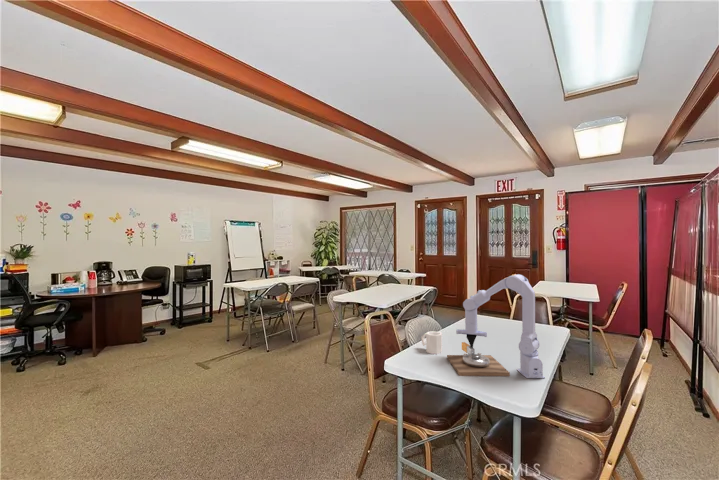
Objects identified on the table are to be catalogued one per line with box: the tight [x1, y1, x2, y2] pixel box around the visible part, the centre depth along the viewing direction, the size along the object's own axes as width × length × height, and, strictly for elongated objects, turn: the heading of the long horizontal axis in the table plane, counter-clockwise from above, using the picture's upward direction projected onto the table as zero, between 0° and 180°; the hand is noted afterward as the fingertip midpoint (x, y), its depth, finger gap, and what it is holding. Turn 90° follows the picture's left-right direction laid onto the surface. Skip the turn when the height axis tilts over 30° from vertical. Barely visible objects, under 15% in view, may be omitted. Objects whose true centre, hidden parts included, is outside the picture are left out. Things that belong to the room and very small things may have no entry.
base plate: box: [446, 354, 511, 377], centre depth 152 cm, size 22×22×2 cm
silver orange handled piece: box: [461, 341, 490, 367], centre depth 156 cm, size 20×12×6 cm, turn 7°
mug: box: [420, 330, 443, 355], centre depth 174 cm, size 12×9×10 cm
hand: (471, 349), depth 161 cm, fingers closed, pressing on silver orange handled piece
